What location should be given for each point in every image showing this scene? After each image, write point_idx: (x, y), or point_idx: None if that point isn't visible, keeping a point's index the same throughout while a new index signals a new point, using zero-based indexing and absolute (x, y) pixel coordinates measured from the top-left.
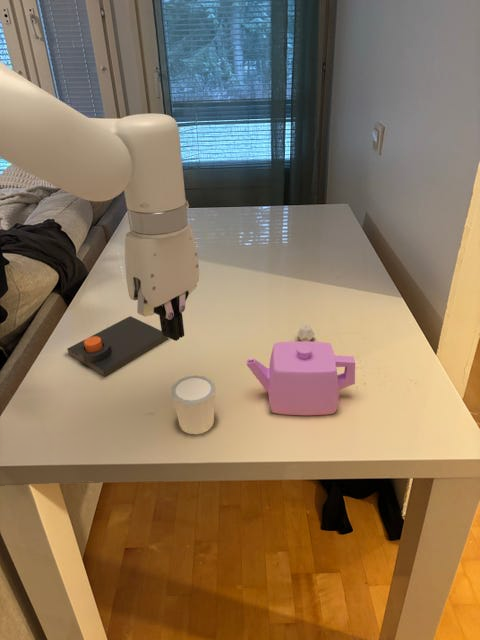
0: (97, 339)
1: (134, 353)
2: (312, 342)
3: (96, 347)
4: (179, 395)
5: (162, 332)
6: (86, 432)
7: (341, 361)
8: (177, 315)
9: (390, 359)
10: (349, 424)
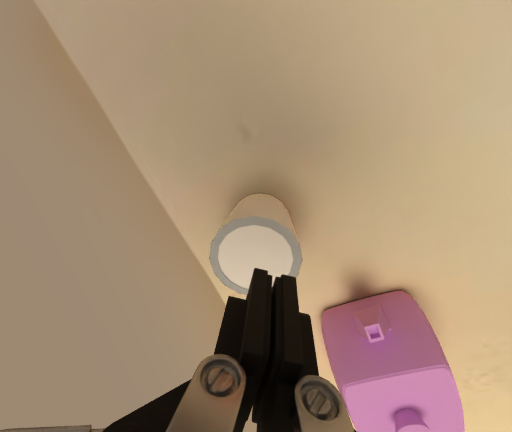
0: None
1: None
2: (459, 419)
3: None
4: (225, 243)
5: (228, 298)
6: (142, 38)
7: None
8: (257, 422)
9: (496, 414)
10: None
